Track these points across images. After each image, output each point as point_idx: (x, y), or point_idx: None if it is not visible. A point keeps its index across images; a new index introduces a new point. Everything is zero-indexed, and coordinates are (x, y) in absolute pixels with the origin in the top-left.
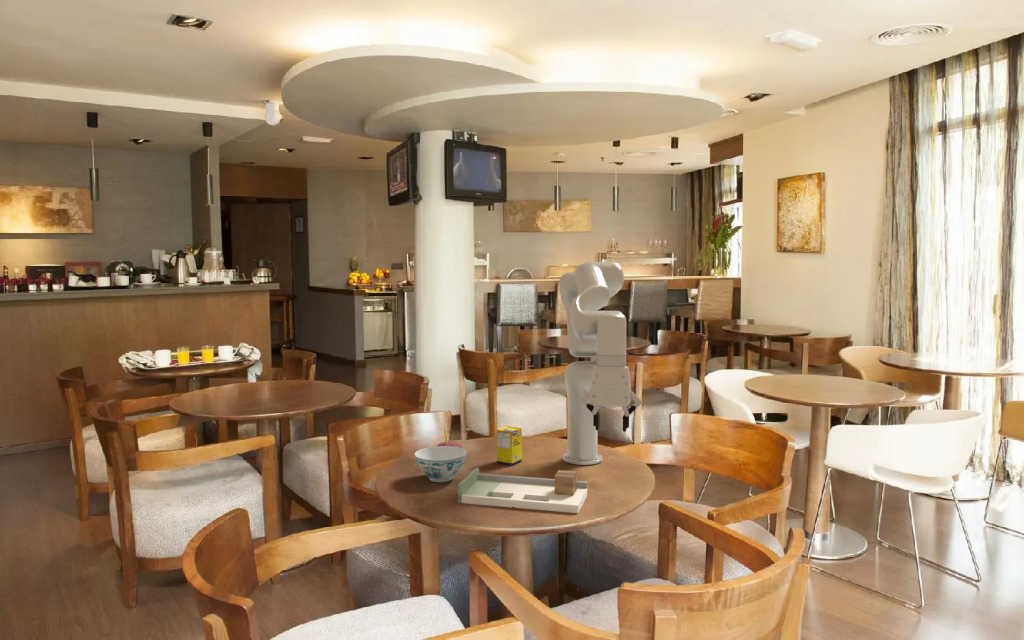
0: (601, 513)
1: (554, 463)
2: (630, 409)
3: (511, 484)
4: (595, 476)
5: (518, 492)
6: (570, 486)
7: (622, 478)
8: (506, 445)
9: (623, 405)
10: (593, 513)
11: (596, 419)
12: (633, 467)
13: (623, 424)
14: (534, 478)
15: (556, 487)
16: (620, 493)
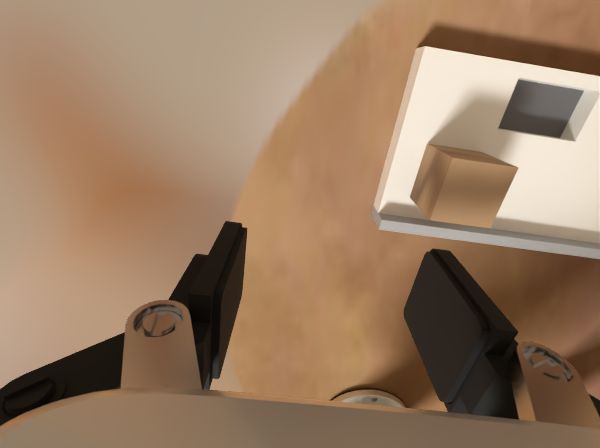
0: (344, 56)
1: (426, 395)
2: (87, 386)
3: (590, 224)
4: (342, 331)
5: (591, 157)
6: (447, 151)
7: (280, 324)
8: None
9: (127, 395)
10: (368, 53)
11: (483, 299)
12: (256, 385)
13: (229, 250)
14: (532, 243)
15: (488, 156)
16: (285, 228)
